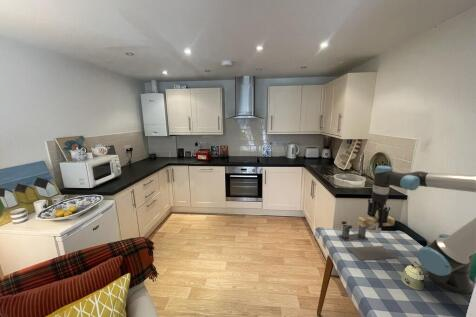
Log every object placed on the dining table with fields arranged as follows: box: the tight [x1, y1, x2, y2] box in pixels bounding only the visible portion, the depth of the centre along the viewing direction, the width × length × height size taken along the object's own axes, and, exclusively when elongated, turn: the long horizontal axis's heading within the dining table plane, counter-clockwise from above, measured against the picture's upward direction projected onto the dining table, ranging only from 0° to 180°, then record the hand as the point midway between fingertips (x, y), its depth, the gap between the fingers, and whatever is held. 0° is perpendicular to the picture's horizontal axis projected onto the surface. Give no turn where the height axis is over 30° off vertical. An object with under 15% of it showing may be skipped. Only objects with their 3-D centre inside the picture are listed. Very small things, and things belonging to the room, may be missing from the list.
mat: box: [346, 245, 399, 261], centre depth 118 cm, size 24×11×1 cm, turn 96°
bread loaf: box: [357, 215, 396, 227], centre depth 115 cm, size 20×4×4 cm, turn 96°
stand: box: [338, 220, 370, 242], centre depth 133 cm, size 17×6×11 cm, turn 96°
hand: (374, 230), depth 115 cm, fingers closed on bread loaf, 4 cm apart
